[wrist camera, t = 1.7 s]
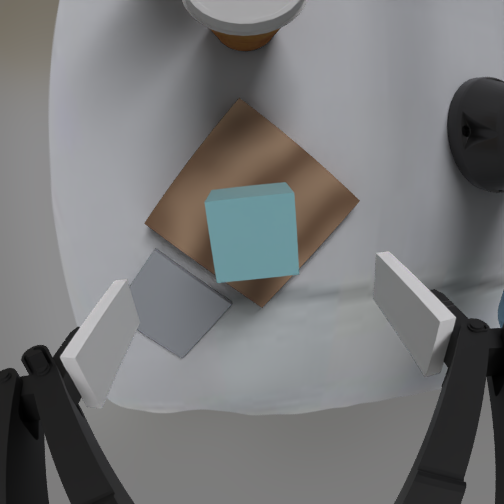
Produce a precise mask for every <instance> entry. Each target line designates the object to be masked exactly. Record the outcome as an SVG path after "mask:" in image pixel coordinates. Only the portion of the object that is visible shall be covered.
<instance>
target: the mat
mask: <svg viewBox="0 0 504 504" xmlns="http://www.w3.org/2000/svg"><path fill="white" fill-rule="evenodd" d="M130 291H131V294H132V298H133V301H134V304H135V308H136V311H137V314H138V317H139V320H140V324H139V326H138V328H137V330H138V331H140V332H141V333H143V334H144V335H146V336H147V337H149V338H151V339H152V340H154V341H155V342H157V343H158V344H160V345H161V346H163V347H165V348H166V349H168V350H169V351H171V352H173V353H174V354H176V355H178V356H179V357H181V358H183V357H184V356H185V355H186V354H187V352H188V351H189V350H190V349H191V348H192V347H193V346H194V345H195V344H196V343H197V342H198V341H199V340H200V338H201V337H202V336H203V335H204V334H205V333H206V332H207V331H208V330H209V329H210V328H211V327H212V325H213V324H214V323H215V322H216V321H217V320H218V319H219V318H220V317H221V316H222V315H223V313H224V312H225V311H226V310H227V309H228V308H229V307H230V306H231V305H232V302H231V301H230V300H228V299H227V298H225V297H224V296H222V295H221V294H219V293H218V292H216V291H215V290H214V289H212V288H211V287H209V286H208V285H206V284H205V283H204V282H202V281H201V280H199V279H198V278H196V277H195V276H194V275H192V274H191V273H189V272H188V271H187V270H185V269H184V268H182V267H181V266H180V265H178V264H177V263H175V262H174V261H173V260H171V259H170V258H168V257H167V256H166V255H164V254H163V253H162V252H160V251H159V250H157V249H156V248H155V250H154V251H153V253H152V254H151V255H150V257H149V258H148V260H147V261H146V263H145V264H144V266H143V267H142V269H141V270H140V272H139V273H138V275H137V276H136V278H135V279H134V281H133V282H132V284H131V285H130Z"/></svg>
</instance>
